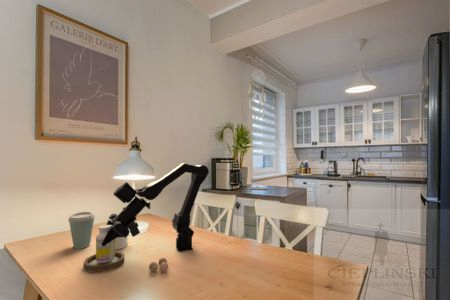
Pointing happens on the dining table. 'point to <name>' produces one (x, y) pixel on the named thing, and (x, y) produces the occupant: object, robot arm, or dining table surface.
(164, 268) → the pinkish tan ball
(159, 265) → the bead honey
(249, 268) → the dining table surface
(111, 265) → the faceted wooden bowl
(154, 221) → the dining table surface
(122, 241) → the mug
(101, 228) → the supplement bottle
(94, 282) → the dining table surface
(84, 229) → the disposable coffee cup
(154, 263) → the bead maple
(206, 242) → the dining table surface
